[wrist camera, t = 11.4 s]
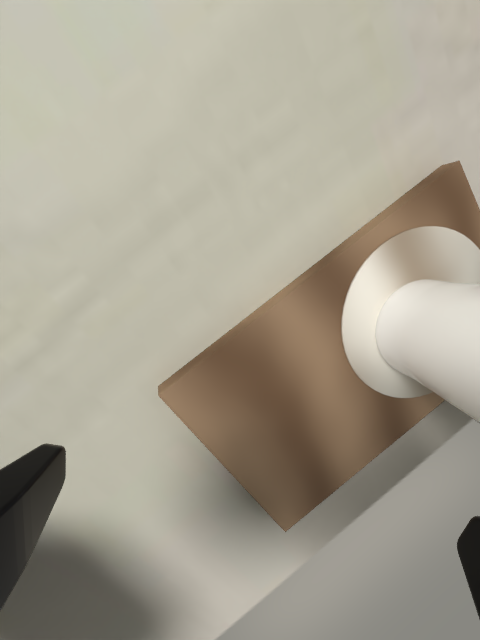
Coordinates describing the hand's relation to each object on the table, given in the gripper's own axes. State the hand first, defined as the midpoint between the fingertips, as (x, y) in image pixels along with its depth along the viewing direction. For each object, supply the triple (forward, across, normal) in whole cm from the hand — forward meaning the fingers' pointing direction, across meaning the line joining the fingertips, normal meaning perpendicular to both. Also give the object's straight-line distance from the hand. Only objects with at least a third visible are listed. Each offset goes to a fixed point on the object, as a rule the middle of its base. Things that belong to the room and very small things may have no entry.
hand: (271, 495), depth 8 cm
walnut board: (+13, -6, +2) cm, 15 cm away
